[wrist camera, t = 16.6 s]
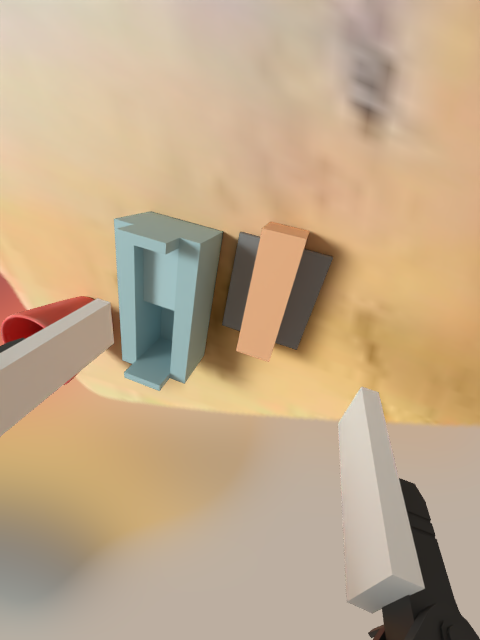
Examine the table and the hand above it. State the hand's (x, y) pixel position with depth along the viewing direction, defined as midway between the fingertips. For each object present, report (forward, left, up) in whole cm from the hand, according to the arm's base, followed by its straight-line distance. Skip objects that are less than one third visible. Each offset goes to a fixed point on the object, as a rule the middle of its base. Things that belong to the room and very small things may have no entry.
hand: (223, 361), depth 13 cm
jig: (+7, -11, -18) cm, 23 cm away
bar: (+3, 0, -18) cm, 18 cm away
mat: (+4, 0, -18) cm, 19 cm away
